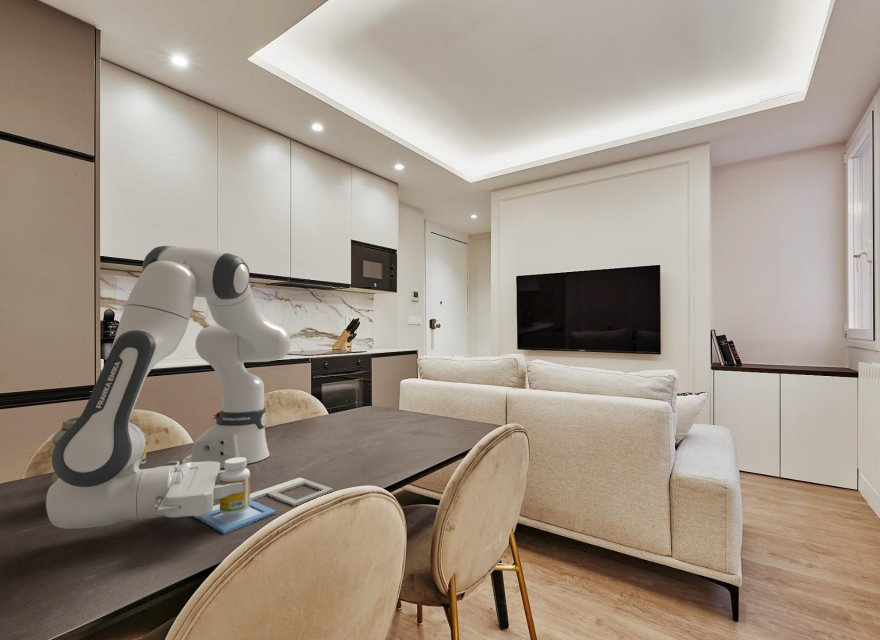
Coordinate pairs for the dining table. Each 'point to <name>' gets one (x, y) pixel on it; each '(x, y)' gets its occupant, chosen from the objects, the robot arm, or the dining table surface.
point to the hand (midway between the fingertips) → (242, 480)
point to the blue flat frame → (259, 506)
